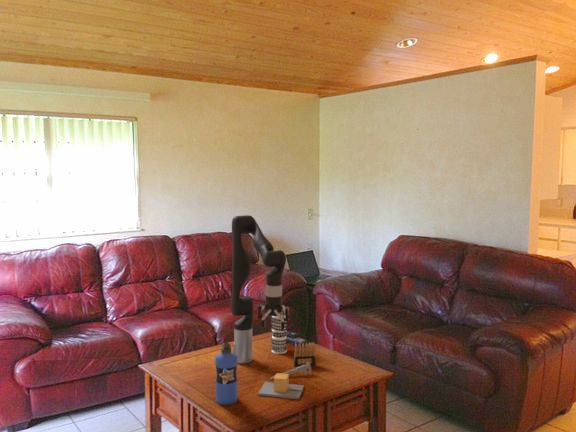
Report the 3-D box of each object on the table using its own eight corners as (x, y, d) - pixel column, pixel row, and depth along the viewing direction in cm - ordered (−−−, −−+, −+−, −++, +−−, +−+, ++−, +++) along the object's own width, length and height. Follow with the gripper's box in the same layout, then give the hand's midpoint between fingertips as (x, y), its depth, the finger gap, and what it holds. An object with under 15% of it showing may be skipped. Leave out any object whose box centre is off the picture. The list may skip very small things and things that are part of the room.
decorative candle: (269, 348, 273) (269, 304, 271) (285, 347, 275) (285, 303, 273) (272, 354, 264) (272, 308, 262) (289, 353, 266) (289, 307, 264)
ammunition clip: (314, 364, 251) (314, 341, 250) (315, 365, 249) (315, 342, 248) (293, 365, 250) (293, 342, 249) (294, 366, 248) (294, 343, 247)
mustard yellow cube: (273, 391, 218) (273, 378, 218) (276, 385, 224) (276, 373, 223) (286, 392, 217) (286, 379, 217) (288, 387, 223) (288, 374, 222)
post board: (258, 395, 216) (258, 383, 216) (265, 383, 228) (265, 372, 228) (298, 399, 213) (298, 386, 212) (303, 387, 224) (303, 375, 224)
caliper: (310, 373, 240) (310, 361, 240) (311, 374, 239) (311, 361, 239) (269, 379, 234) (269, 366, 234) (270, 380, 233) (270, 367, 233)
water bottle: (238, 404, 209) (238, 346, 206) (216, 406, 207) (215, 347, 204) (236, 394, 218) (236, 338, 215) (215, 396, 216) (214, 340, 213)
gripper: (256, 295, 224) (256, 329, 226) (287, 297, 221) (286, 332, 223) (260, 290, 231) (260, 324, 233) (290, 293, 229) (290, 327, 231)
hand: (273, 328), depth 228 cm, fingers open, 8 cm apart
